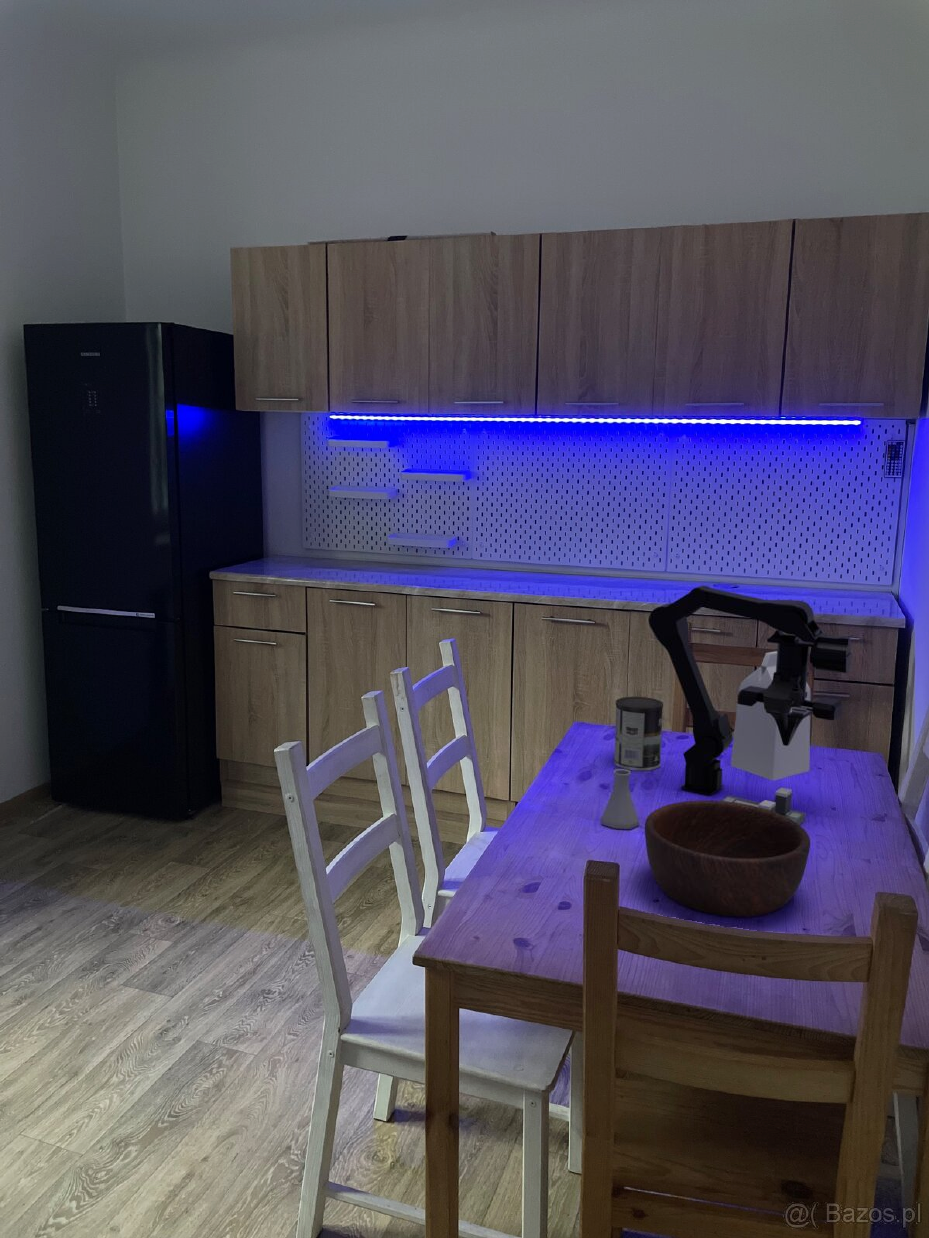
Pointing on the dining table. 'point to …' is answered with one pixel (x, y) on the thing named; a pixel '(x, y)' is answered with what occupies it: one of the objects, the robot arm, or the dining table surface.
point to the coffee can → (638, 733)
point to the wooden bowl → (726, 856)
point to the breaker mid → (768, 805)
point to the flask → (620, 804)
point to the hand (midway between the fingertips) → (786, 745)
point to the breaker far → (783, 800)
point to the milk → (768, 734)
